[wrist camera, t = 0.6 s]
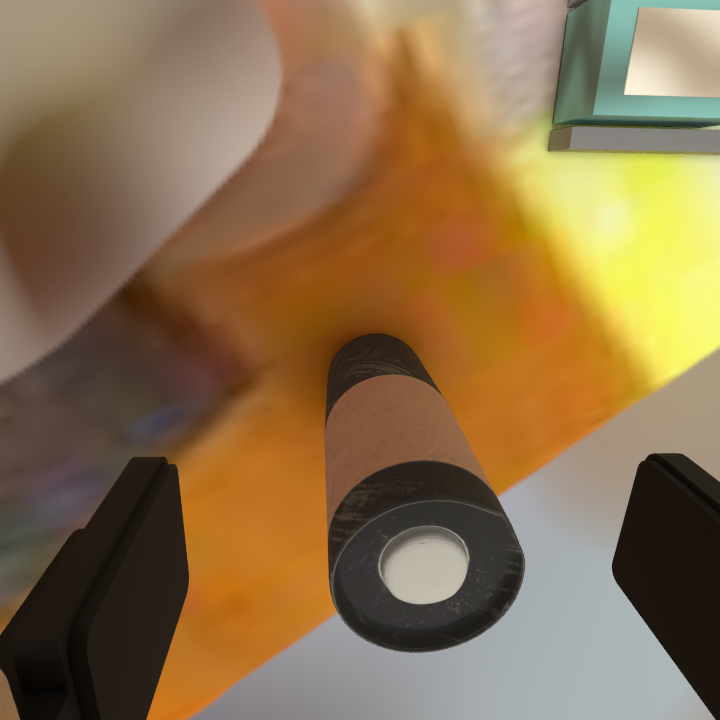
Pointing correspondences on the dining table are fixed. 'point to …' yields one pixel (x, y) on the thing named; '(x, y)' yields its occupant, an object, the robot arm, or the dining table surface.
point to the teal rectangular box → (641, 64)
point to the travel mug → (409, 508)
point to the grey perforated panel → (634, 137)
